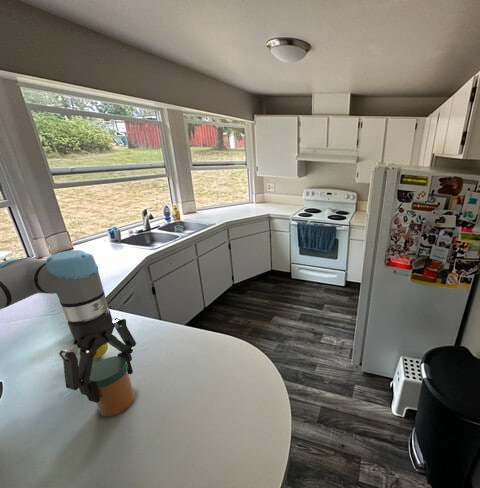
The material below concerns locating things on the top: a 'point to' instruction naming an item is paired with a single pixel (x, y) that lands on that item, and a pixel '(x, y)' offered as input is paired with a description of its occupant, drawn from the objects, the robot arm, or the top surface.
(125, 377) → the jam jar
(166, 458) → the top surface
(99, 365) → the jar lid
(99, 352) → the lemon
